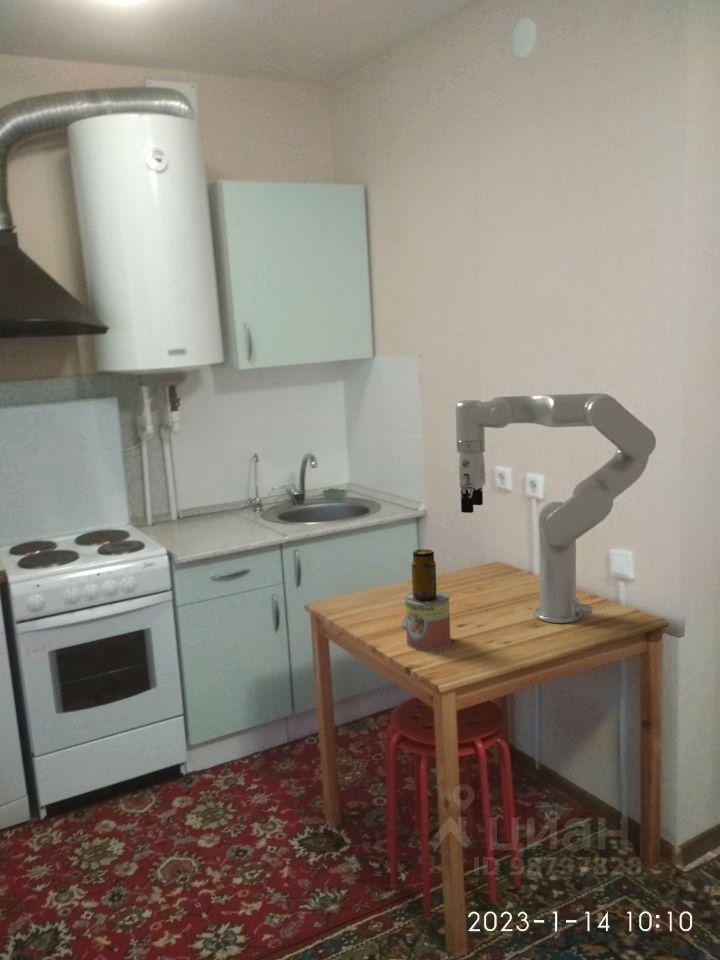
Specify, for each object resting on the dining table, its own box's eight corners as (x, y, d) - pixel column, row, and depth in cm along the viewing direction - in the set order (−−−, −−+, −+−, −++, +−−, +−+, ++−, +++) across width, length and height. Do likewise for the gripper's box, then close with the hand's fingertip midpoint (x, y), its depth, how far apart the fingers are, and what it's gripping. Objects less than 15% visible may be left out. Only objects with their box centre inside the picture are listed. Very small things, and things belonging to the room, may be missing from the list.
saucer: (443, 620, 217) (443, 616, 217) (432, 633, 208) (431, 628, 208) (409, 617, 221) (409, 612, 221) (396, 629, 212) (396, 625, 212)
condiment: (425, 591, 206) (424, 546, 204) (448, 598, 199) (447, 552, 197) (404, 597, 201) (403, 552, 199) (427, 605, 195) (426, 558, 193)
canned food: (397, 644, 202) (395, 599, 200) (423, 631, 210) (422, 587, 208) (434, 654, 195) (432, 607, 193) (459, 639, 203) (458, 595, 201)
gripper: (475, 451, 203) (477, 516, 206) (492, 442, 219) (493, 502, 222) (447, 451, 206) (449, 515, 209) (465, 442, 222) (467, 501, 225)
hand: (472, 508), depth 216 cm, fingers open, 9 cm apart
